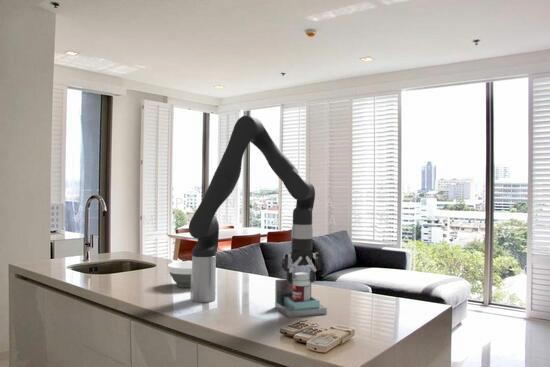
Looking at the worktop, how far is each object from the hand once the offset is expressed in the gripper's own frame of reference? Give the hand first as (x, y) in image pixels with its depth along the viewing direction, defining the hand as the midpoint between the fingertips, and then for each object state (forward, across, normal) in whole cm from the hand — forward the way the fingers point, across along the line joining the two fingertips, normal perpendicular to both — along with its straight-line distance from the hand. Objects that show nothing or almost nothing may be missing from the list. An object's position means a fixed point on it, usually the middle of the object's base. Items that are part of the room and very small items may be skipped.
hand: (301, 282), depth 157 cm
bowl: (+11, -31, +55) cm, 64 cm away
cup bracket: (+10, 0, +1) cm, 10 cm away
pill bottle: (+8, 0, 0) cm, 8 cm away
